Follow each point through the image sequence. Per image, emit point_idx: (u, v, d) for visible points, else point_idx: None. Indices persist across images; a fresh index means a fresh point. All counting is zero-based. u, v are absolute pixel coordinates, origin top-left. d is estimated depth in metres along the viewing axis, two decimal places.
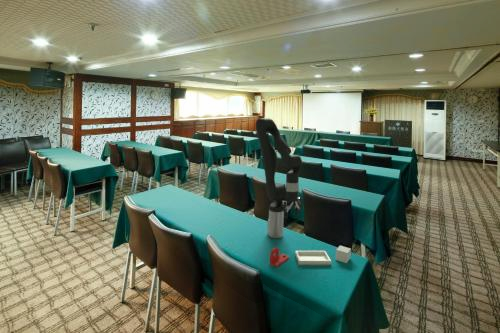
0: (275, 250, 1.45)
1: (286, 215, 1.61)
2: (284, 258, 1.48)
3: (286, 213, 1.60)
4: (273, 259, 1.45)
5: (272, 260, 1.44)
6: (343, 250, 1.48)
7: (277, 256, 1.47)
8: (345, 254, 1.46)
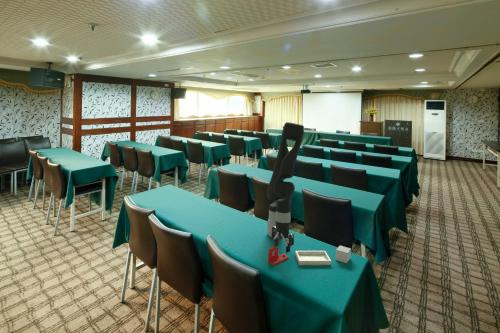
0: (273, 249, 1.46)
1: (289, 248, 1.42)
2: (283, 258, 1.49)
3: None
4: (271, 258, 1.46)
5: (270, 258, 1.46)
6: (343, 250, 1.48)
7: (276, 255, 1.49)
8: (345, 254, 1.46)
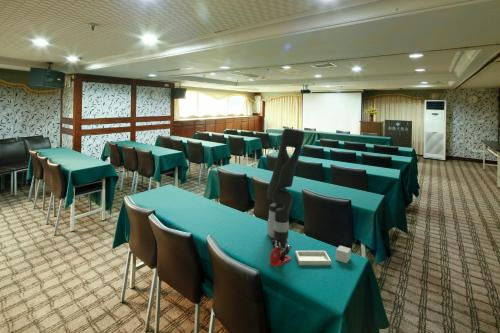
0: (276, 250, 1.45)
1: None
2: (285, 259, 1.47)
3: None
4: (274, 260, 1.45)
5: (272, 260, 1.44)
6: (343, 250, 1.48)
7: (278, 256, 1.47)
8: (345, 254, 1.46)
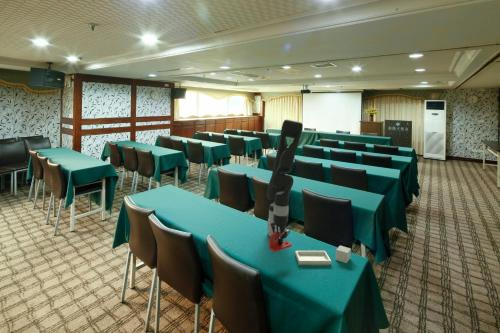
0: (275, 235, 1.43)
1: None
2: (286, 245, 1.45)
3: (282, 239, 1.45)
4: (273, 244, 1.43)
5: (271, 244, 1.42)
6: (343, 250, 1.48)
7: None
8: (345, 254, 1.46)
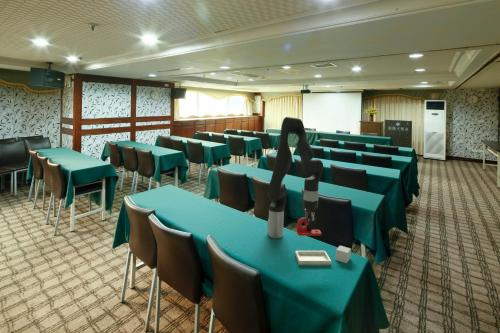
0: (303, 220, 1.44)
1: (311, 228, 1.44)
2: (314, 232, 1.43)
3: (311, 226, 1.44)
4: (300, 229, 1.44)
5: (298, 228, 1.44)
6: (343, 250, 1.48)
7: None
8: (345, 254, 1.46)
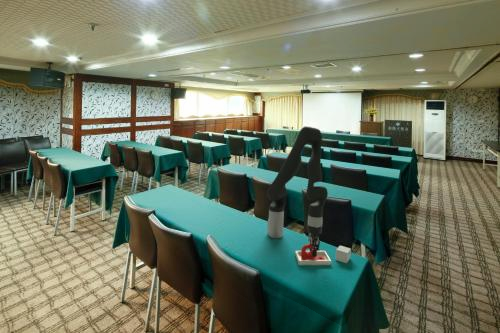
0: (308, 246, 1.47)
1: (316, 253, 1.45)
2: (318, 259, 1.46)
3: None
4: (305, 255, 1.48)
5: (303, 254, 1.48)
6: (343, 250, 1.48)
7: (311, 254, 1.48)
8: (345, 254, 1.46)
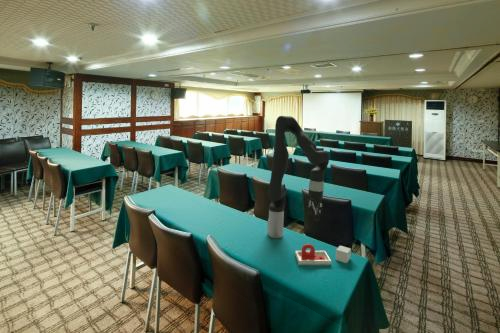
0: (308, 246, 1.48)
1: None
2: (318, 259, 1.46)
3: None
4: (305, 254, 1.49)
5: (303, 254, 1.49)
6: (343, 250, 1.48)
7: (311, 254, 1.49)
8: (345, 254, 1.46)
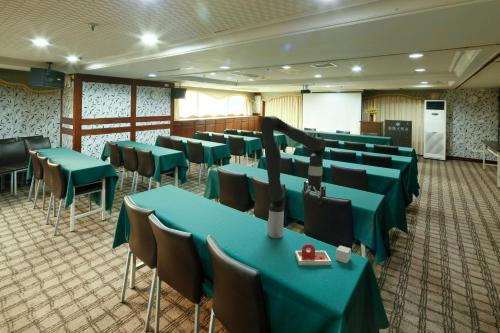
0: (308, 246, 1.48)
1: None
2: (318, 259, 1.47)
3: None
4: (305, 254, 1.49)
5: (303, 254, 1.49)
6: (344, 250, 1.48)
7: (312, 253, 1.49)
8: (345, 254, 1.46)
